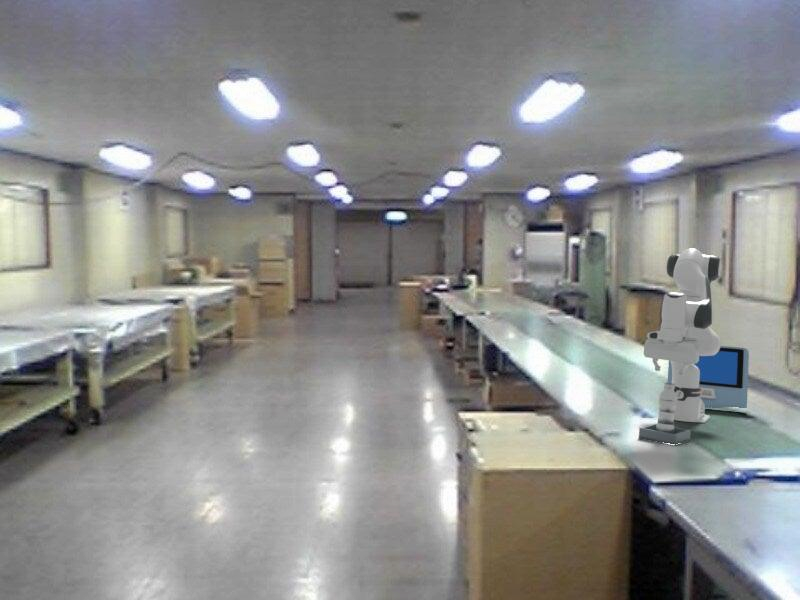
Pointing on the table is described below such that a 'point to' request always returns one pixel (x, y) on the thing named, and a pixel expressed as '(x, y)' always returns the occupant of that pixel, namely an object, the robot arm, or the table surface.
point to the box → (664, 435)
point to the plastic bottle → (667, 409)
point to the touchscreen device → (723, 377)
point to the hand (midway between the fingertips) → (669, 372)
